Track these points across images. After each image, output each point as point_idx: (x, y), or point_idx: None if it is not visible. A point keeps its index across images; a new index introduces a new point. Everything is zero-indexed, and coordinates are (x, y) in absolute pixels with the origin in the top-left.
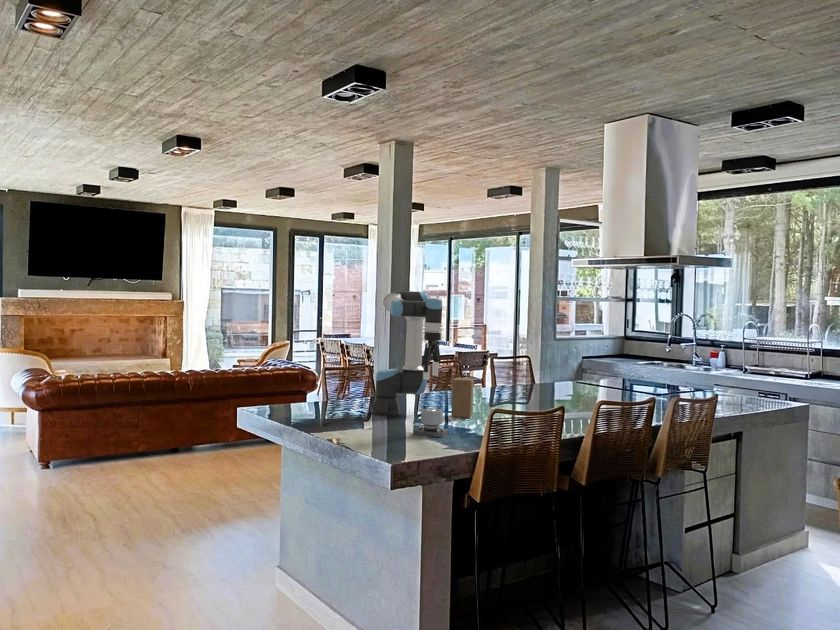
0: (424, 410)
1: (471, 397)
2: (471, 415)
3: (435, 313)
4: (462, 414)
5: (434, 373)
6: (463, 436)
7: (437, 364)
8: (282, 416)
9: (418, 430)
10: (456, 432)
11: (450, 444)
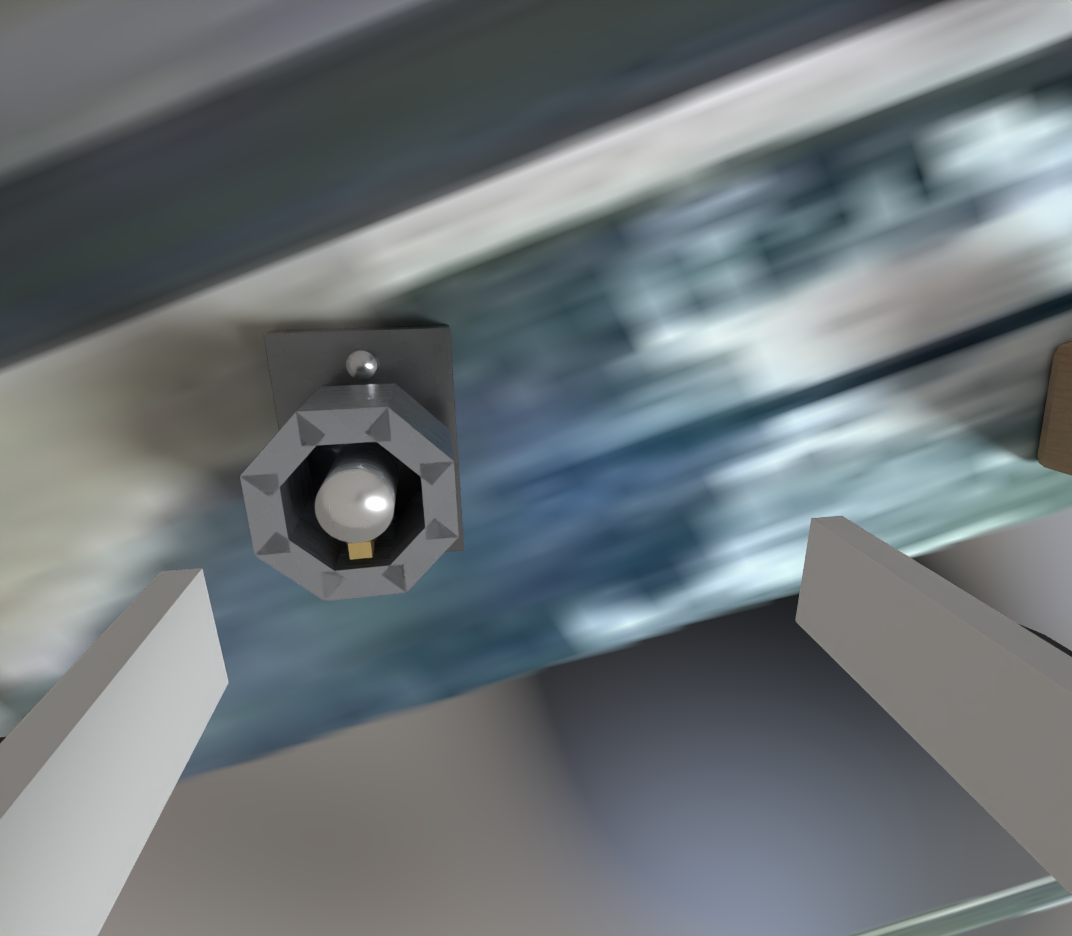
0: (272, 456)
1: None
2: None
3: None
4: (1062, 424)
5: (834, 587)
6: (434, 635)
7: (1008, 809)
8: None
9: (280, 377)
10: (538, 557)
11: None
